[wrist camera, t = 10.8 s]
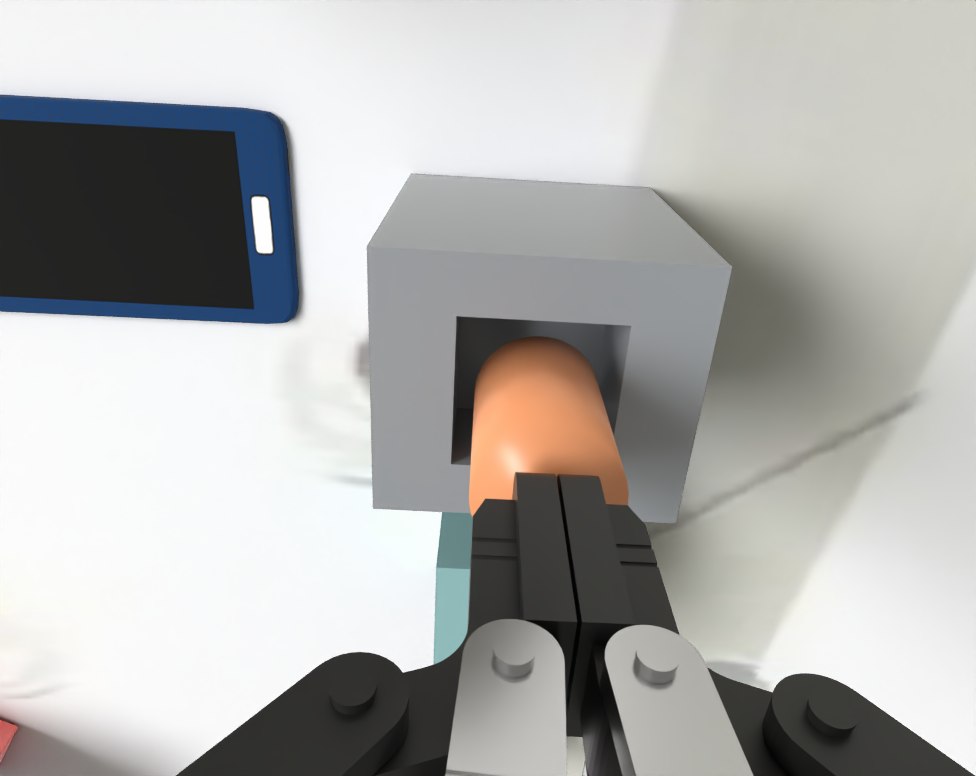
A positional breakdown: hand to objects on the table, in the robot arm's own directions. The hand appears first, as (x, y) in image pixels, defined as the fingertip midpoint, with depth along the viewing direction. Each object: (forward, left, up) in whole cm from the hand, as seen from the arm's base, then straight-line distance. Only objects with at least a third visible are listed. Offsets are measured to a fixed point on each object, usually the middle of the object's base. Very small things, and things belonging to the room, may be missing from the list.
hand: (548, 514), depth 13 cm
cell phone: (+15, -1, -14) cm, 21 cm away
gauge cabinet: (0, 0, -14) cm, 14 cm away
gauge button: (0, 0, -5) cm, 5 cm away
